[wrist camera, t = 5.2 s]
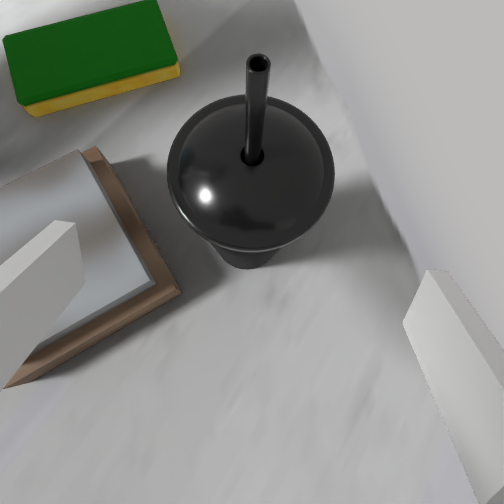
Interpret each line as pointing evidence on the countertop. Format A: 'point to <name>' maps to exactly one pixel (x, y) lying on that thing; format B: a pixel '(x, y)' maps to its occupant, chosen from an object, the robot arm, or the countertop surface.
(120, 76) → the dish sponge
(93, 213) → the two-layer plinth
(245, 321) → the countertop surface
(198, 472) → the countertop surface
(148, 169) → the countertop surface
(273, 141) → the drinking cup
